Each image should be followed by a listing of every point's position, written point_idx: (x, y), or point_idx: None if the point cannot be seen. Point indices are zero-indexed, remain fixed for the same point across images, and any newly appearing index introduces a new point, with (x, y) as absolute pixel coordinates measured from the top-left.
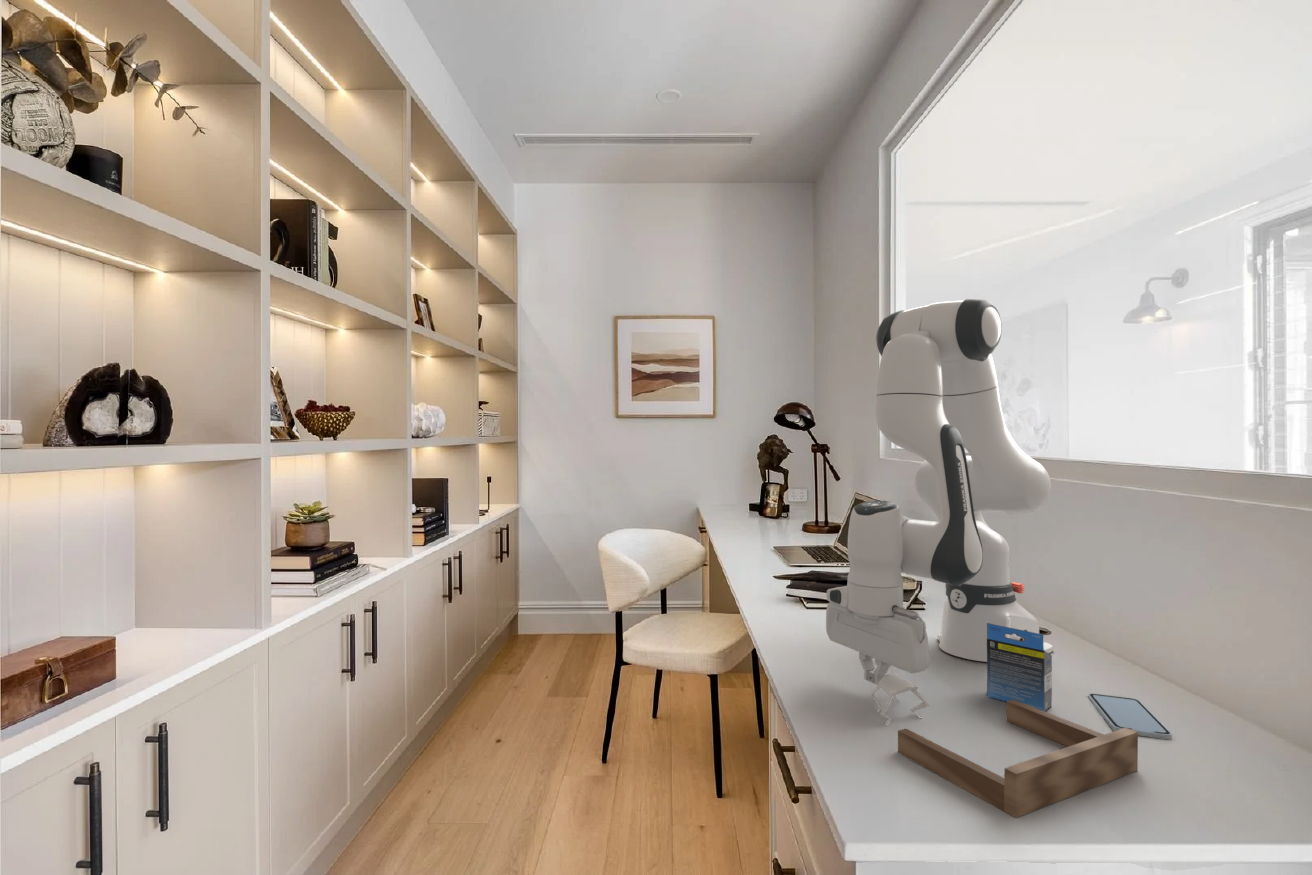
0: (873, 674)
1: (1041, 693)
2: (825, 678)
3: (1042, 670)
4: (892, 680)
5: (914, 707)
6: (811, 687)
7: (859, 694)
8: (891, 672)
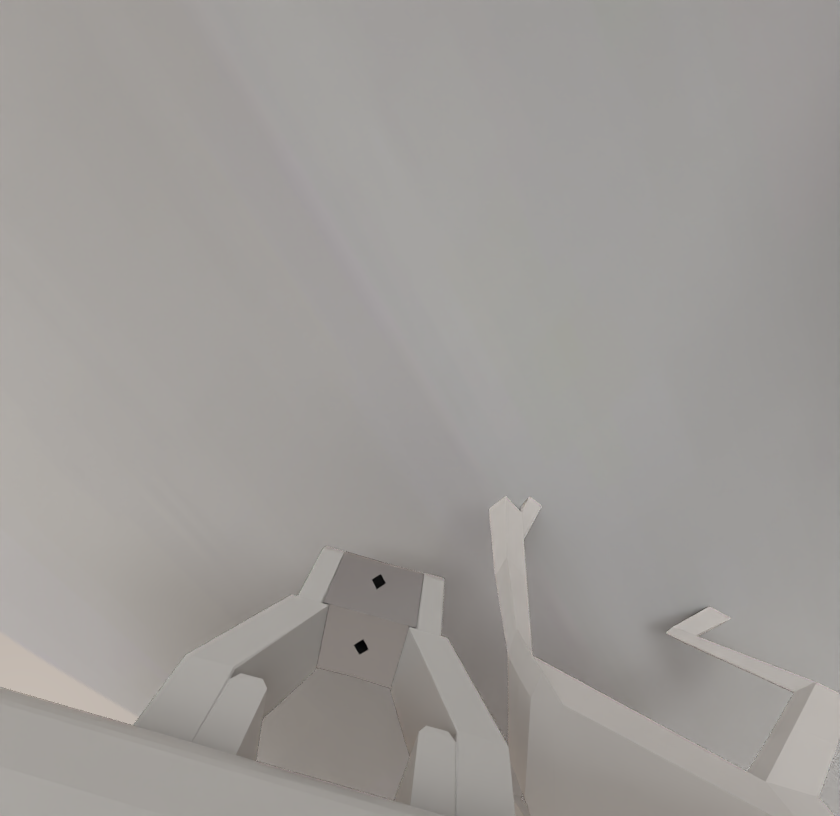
0: (385, 680)
1: None
2: (91, 503)
3: None
4: None
5: (703, 648)
6: (157, 633)
7: None
8: (530, 712)
